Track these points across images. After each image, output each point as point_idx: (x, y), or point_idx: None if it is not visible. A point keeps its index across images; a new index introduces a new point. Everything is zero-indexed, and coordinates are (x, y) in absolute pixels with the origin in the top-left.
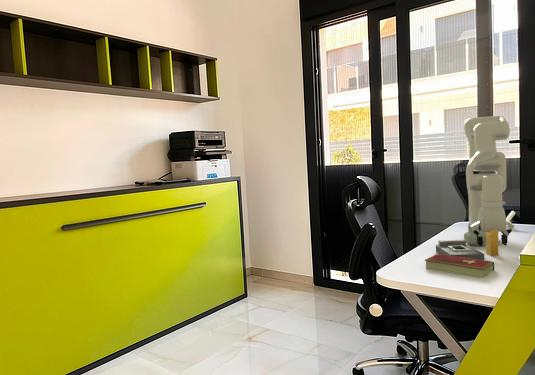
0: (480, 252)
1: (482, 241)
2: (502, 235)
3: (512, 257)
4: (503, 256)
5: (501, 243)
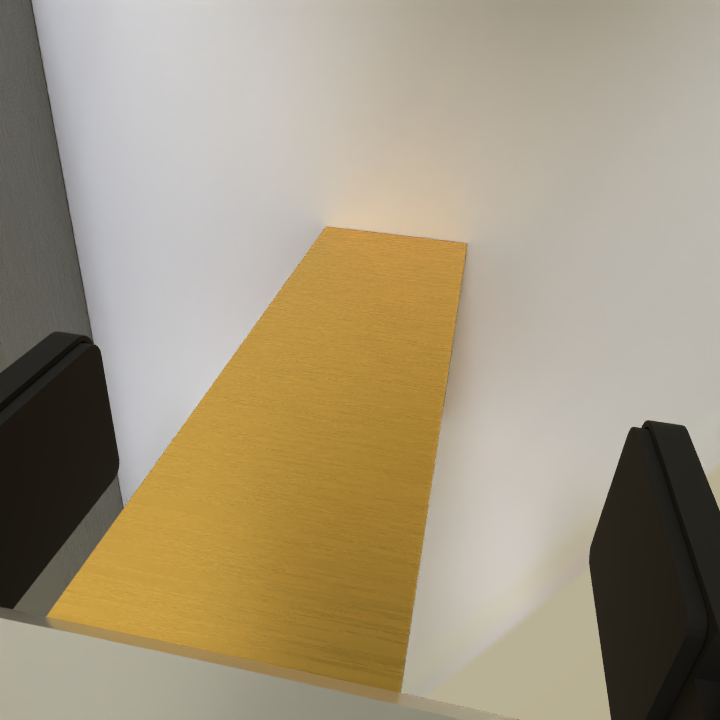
0: (53, 590)
1: (60, 539)
2: (668, 676)
3: (585, 539)
4: (495, 465)
5: (632, 428)
